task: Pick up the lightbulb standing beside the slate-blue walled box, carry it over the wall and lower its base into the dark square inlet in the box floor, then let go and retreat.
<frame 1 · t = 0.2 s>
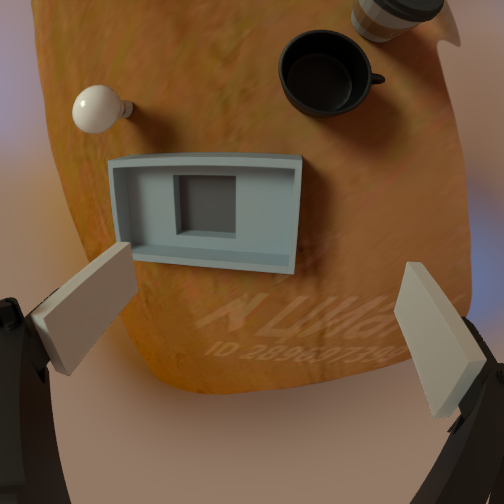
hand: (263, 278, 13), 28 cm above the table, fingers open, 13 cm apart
coffee cup: (373, 23, 28), on the table
lightbulb: (128, 109, 37), on the table
mug: (329, 83, 33), on the table
socket box: (209, 201, 41), on the table
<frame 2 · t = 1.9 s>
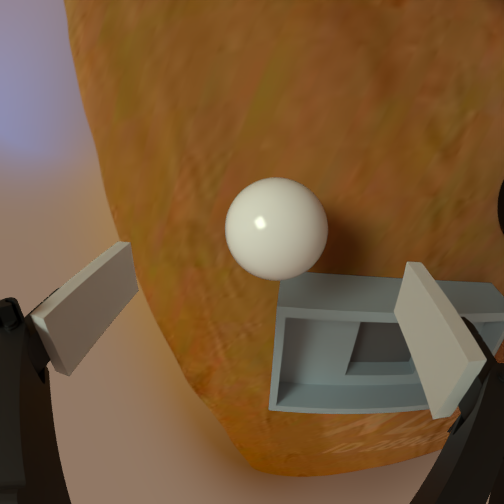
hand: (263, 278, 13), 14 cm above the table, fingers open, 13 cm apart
lightbulb: (282, 197, 26), on the table
socket box: (386, 333, 30), on the table
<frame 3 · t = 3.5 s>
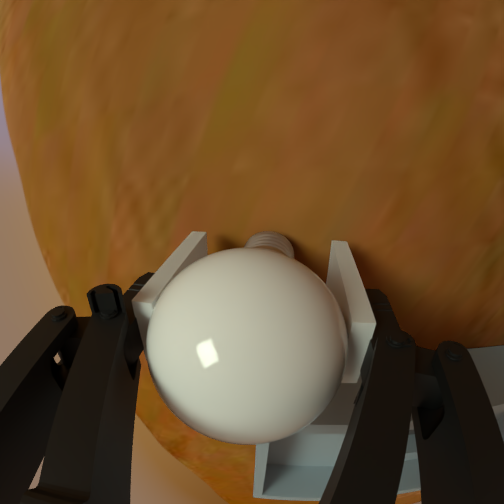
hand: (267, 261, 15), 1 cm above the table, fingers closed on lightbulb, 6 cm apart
lightbulb: (270, 248, 17), on the table, touching gripper
socket box: (404, 409, 21), on the table
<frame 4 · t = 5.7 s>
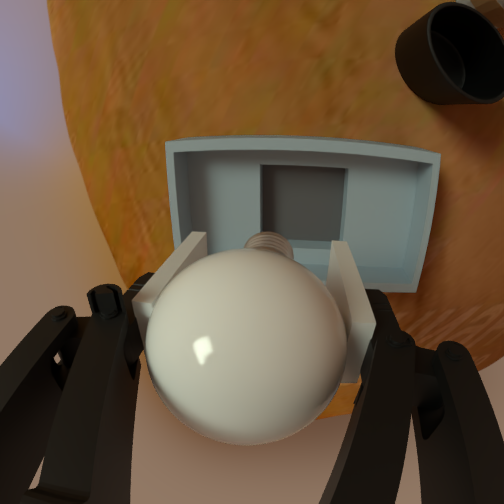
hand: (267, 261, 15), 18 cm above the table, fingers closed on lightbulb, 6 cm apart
coffee cup: (473, 8, 17), on the table
lightbulb: (269, 249, 17), point 16 cm above the table, touching gripper
mug: (441, 66, 22), on the table
socket box: (302, 201, 31), on the table
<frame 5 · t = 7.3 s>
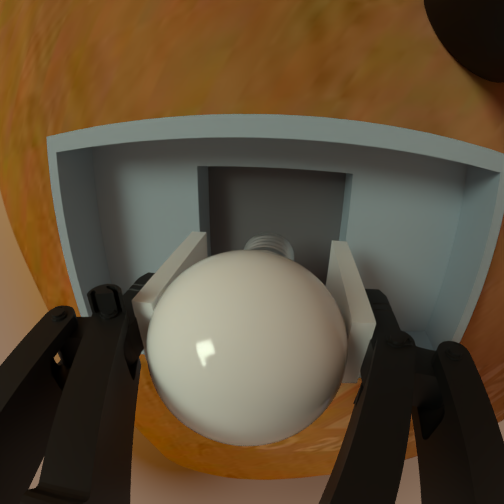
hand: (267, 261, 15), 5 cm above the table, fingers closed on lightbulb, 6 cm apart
lightbulb: (270, 249, 17), point 3 cm above the table, touching gripper
mug: (488, 28, 11), on the table
socket box: (274, 227, 19), on the table
when the fingers open (3 cm above the table, at t = 8.2 s): lightbulb drops 1 cm, resting on socket box.
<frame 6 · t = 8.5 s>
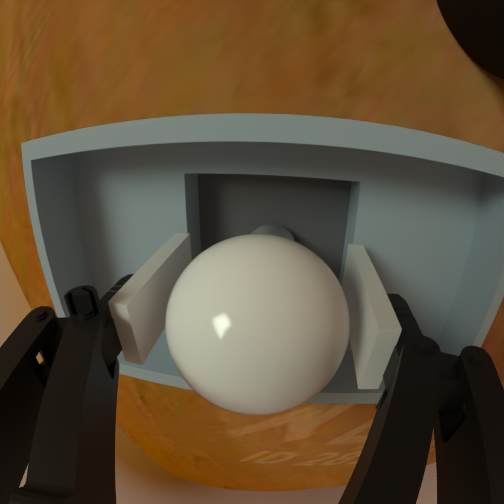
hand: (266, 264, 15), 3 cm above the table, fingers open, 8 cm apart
lightbulb: (272, 240, 18), resting on socket box
mug: (502, 24, 9), on the table
socket box: (271, 240, 18), on the table
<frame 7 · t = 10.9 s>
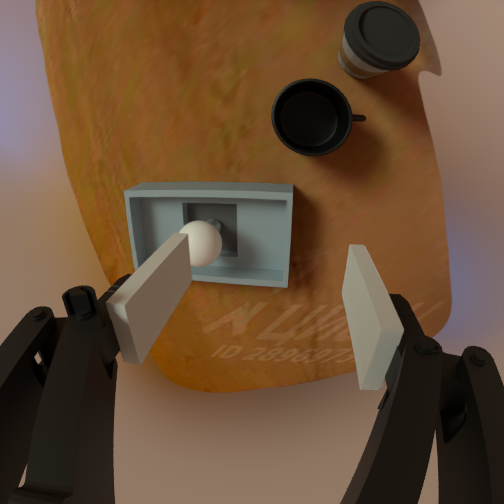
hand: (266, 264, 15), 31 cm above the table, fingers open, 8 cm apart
coffee cup: (358, 59, 34), on the table
lightbulb: (214, 225, 48), resting on socket box
mug: (317, 119, 39), on the table
socket box: (213, 224, 48), on the table
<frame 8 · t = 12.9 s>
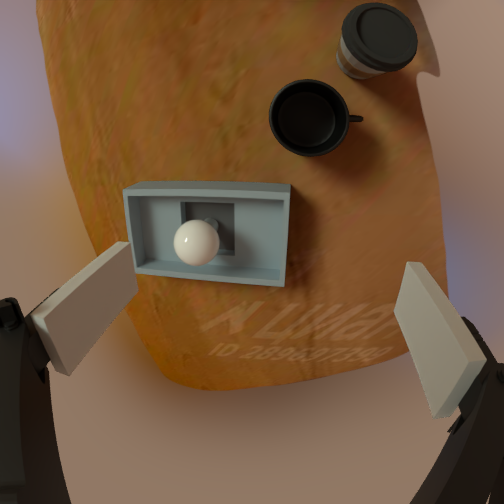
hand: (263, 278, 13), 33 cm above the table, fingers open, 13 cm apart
coffee cup: (356, 60, 35), on the table
lightbulb: (211, 224, 48), resting on socket box
mug: (315, 119, 39), on the table
socket box: (211, 223, 48), on the table
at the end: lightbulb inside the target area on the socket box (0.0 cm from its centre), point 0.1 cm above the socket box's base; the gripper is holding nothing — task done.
